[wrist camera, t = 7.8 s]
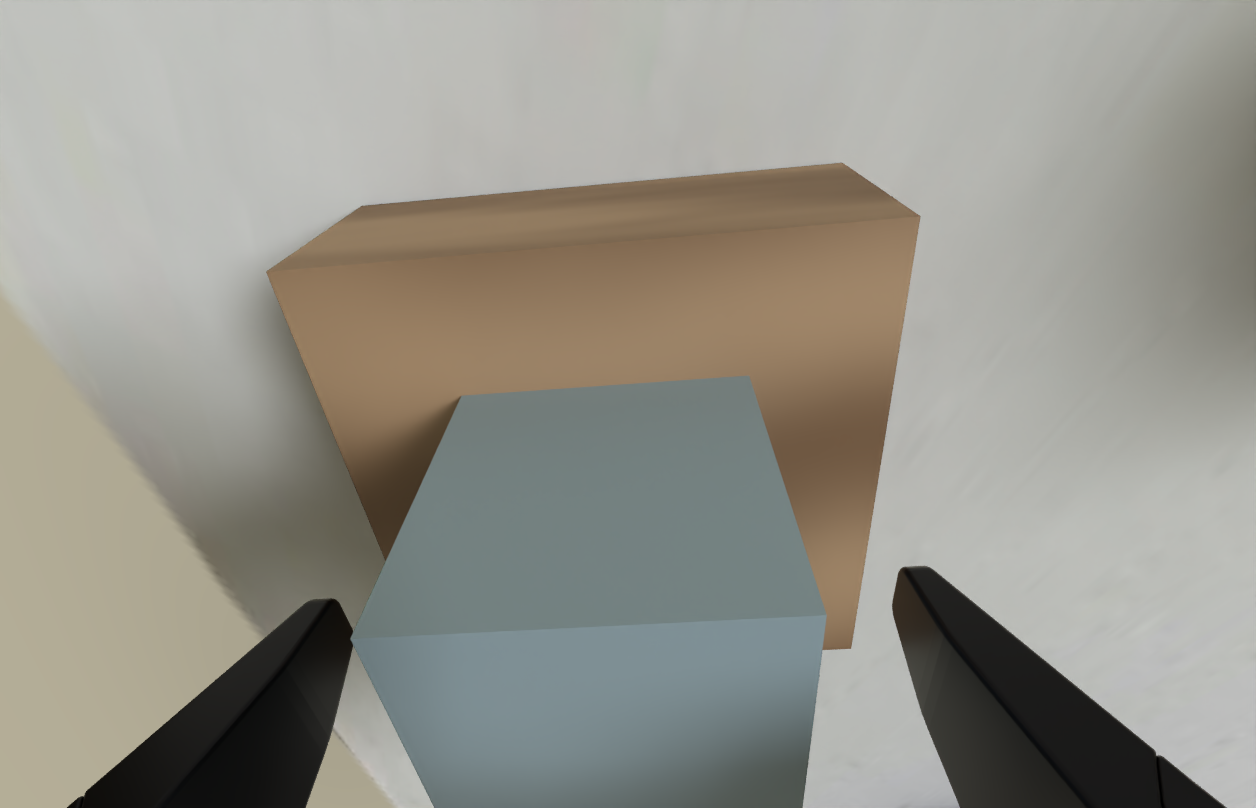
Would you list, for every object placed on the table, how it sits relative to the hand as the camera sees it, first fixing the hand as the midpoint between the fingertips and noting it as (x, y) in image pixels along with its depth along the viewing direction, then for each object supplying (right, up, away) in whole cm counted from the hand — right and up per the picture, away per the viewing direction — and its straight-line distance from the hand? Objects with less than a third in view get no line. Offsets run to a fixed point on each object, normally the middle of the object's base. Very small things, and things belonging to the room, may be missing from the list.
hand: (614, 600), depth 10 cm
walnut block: (0, +3, +6) cm, 6 cm away
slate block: (0, +1, +2) cm, 2 cm away
